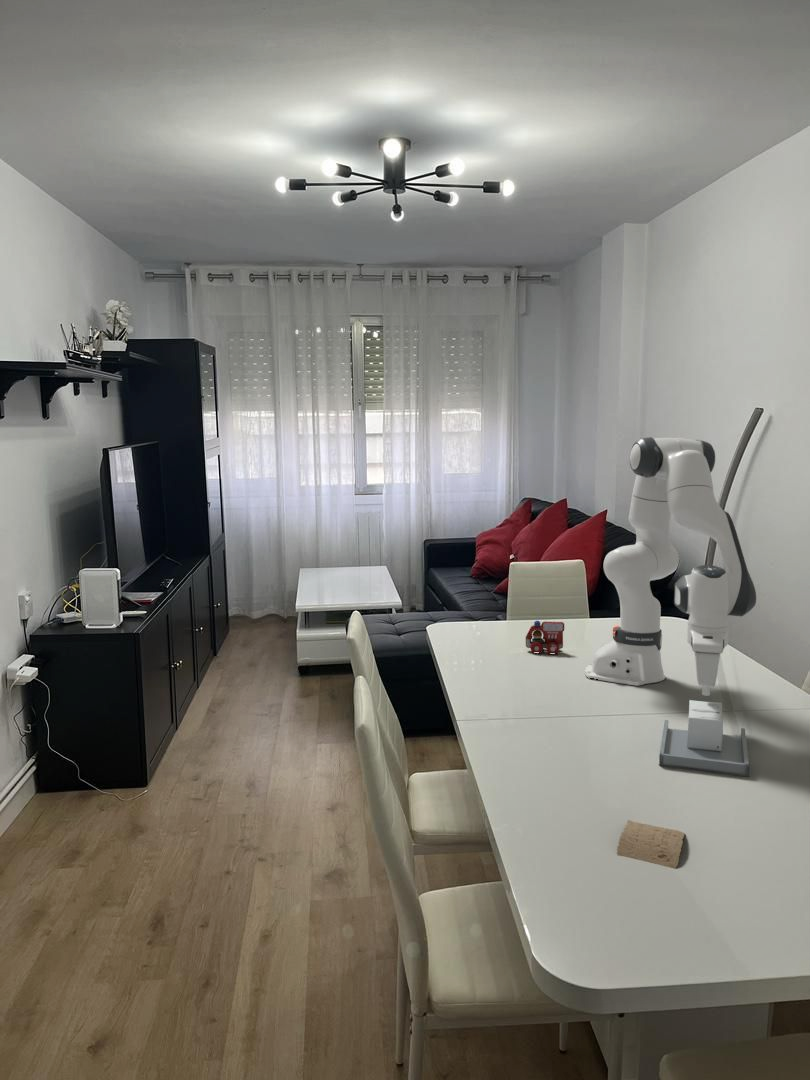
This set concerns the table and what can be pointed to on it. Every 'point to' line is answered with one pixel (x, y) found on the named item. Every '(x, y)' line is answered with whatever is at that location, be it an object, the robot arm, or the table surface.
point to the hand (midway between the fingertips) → (705, 693)
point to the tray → (704, 754)
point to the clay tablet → (651, 844)
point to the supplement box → (705, 726)
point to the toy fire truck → (545, 637)
